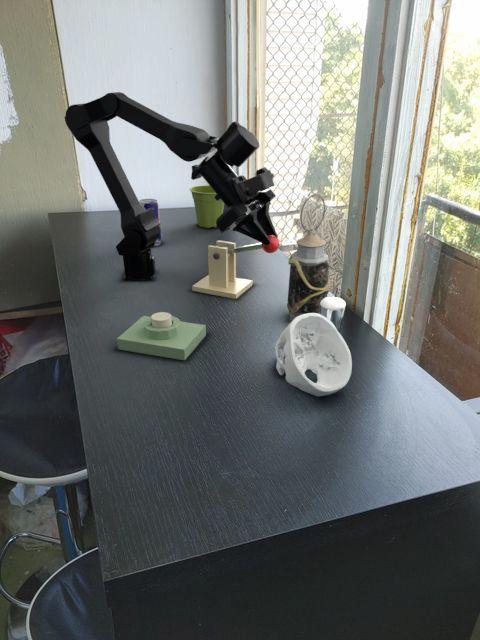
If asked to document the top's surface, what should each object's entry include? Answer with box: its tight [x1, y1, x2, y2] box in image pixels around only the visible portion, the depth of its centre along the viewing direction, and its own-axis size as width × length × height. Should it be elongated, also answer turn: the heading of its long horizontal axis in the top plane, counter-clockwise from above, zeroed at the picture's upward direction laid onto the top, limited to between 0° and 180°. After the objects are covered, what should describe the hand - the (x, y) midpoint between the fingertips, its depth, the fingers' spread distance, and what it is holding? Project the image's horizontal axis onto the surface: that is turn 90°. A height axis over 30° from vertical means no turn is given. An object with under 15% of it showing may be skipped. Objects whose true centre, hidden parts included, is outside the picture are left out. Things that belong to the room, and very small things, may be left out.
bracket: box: [191, 239, 253, 300], centre depth 118 cm, size 11×9×10 cm
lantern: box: [286, 193, 331, 322], centre depth 100 cm, size 9×8×25 cm
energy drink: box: [138, 198, 162, 247], centre depth 145 cm, size 5×5×12 cm
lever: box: [219, 235, 280, 257], centre depth 113 cm, size 15×4×4 cm, turn 67°
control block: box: [116, 315, 207, 361], centre depth 96 cm, size 13×10×4 cm
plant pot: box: [189, 184, 225, 229], centre depth 162 cm, size 12×12×11 cm
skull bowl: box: [274, 313, 353, 398], centre depth 85 cm, size 10×14×12 cm
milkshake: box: [320, 287, 347, 334], centre depth 95 cm, size 4×5×10 cm
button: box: [150, 311, 172, 328], centre depth 94 cm, size 4×4×2 cm
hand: (272, 241), depth 110 cm, fingers closed on lever, 4 cm apart
